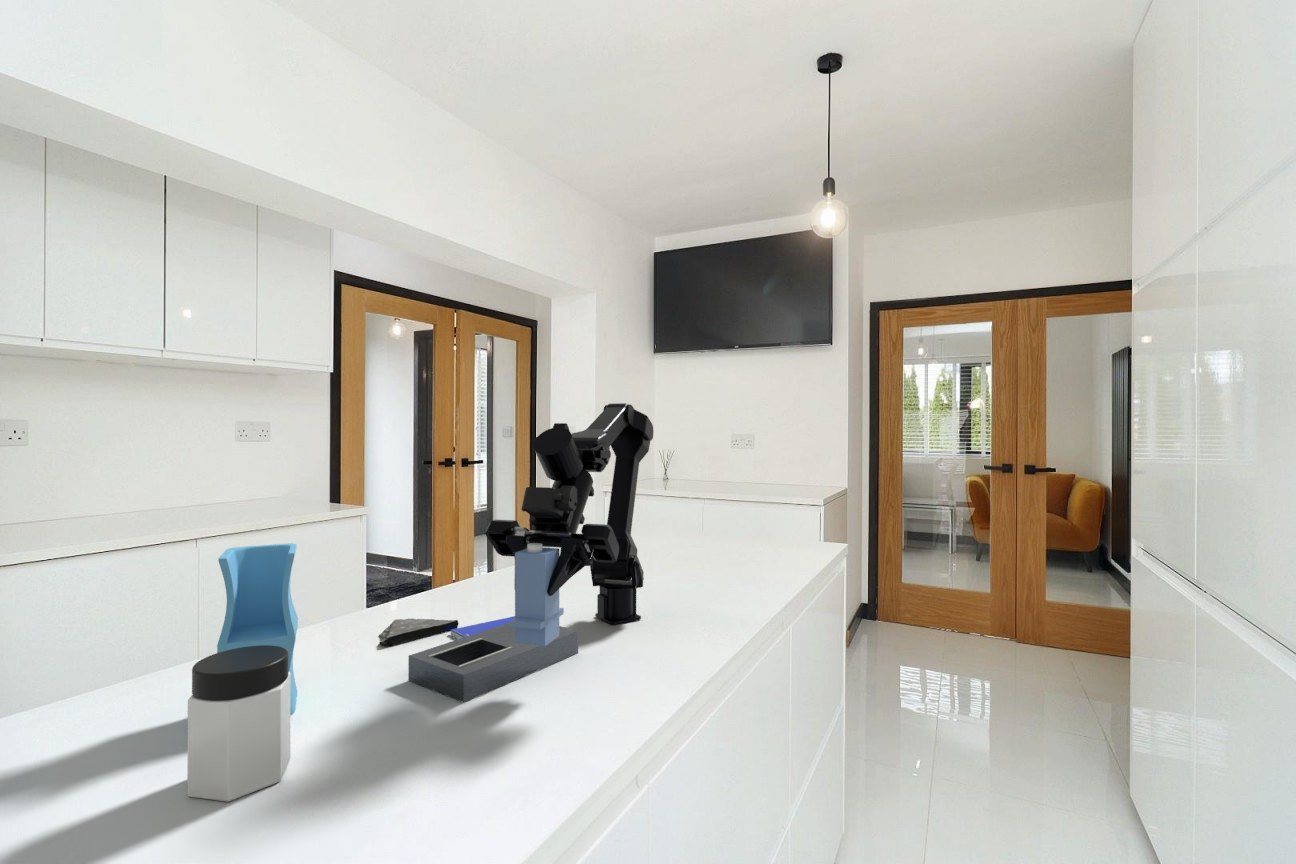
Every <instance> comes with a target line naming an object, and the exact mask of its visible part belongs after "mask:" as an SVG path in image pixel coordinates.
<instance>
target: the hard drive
mask: <svg viewBox="0 0 1296 864" xmlns="http://www.w3.org/2000/svg"><path fill="white" fill-rule="evenodd" d="M513 618H515V615H514V616H510V617H509V616H508V617H505V618H500V619H495V620H490V621H485V622H480V623H475V624H470V625H466V626H461V627H457V628H456V629H452V630H451V631H450V636H452V637H454V638H455V639H456V640H458V639H461V638H464V637H467V636H470V635H473V634H476V633H479V632H482V631H485V630H488V629H491V628H494V627H497V626H501V625H504V624H507V623H510V620H512V619H513Z"/></svg>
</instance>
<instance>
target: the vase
mask: <svg viewBox="0 0 1296 864" xmlns="http://www.w3.org/2000/svg"><path fill="white" fill-rule="evenodd" d="M297 547H298V545H297V543H294V542H293V543H292V542H291V543H277V544H276V543H275V544H274V543H273V544H262V545H261V544H260V545H259V544H258V545H246V546H235V547H230V548H227V549H225V550H224V551H223V552H222V553H221V555H220V556H219V557H218V559H217V561H218V564H219V568H220V570H221V571H220V572H222V574H221V575H222V578H223V581H224V586H225V594H226V606H225V607H226V608H225V613H224V614H225V615H224V621H223V625H222V628H221V632H220V635H219V638H218V641H217V645H216V647H217V650H216V651H217V652H216V653H219V652H223V651H227V650H231V649H236V648H241V647H248V646H260V645H271V646H279V647H282V648H285V649H286V650H287V651H288V672H290V673H291V703H290V716H291V715H293V714H295V711H296V709H297V697H298V689H297V688H298V687H297V685H296V683H297V682H296V681H295V680H296V678H295V673H294V672H295V671H294V649H295V645H296V639H297V638H296V637H297V632H298V627H299V626H298V625H299V624H298V623H299V622H298V620H299V618H298V615H297V612H296V609H295V606H294V603H293V599H292V593H291V580H292V578H291V577H292V571H293V565H294V561H295V560H294V559H295V554H296V551H297Z"/></svg>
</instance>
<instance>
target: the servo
mask: <svg viewBox="0 0 1296 864" xmlns="http://www.w3.org/2000/svg"><path fill="white" fill-rule="evenodd" d="M559 556H560V548H558V547H542V543H530V544H527V548H526V549H524V550H521V551H518V552H516V553H515V557H514V616H515V618H513V619H512V620H510V627H515V643H520V644H529V645H538V646H546V645H548V644H549V643H550V642H552V641H553V640H554V639H556V638H557V637H558V636H559V626H560V617H561V616H562V615H564V607H560V589H559V590H557V591H556V592H555V593H554V594H553V595H552V596H549V595H548V593H547V590H548V586H549V582H550V579H551V576H552V574H553V571H554V569H555V566H556V564H557V561H558V559H559Z"/></svg>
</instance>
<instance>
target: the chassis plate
mask: <svg viewBox="0 0 1296 864" xmlns="http://www.w3.org/2000/svg"><path fill="white" fill-rule="evenodd" d="M578 653H579V630H576V629H573V628H569V627H564V626H561V625H559V636H558V637H557V638H556V639H554V640H553V641H552V642H550V643H549V644H548V645H546V646H538V645H529V644H520V643H515V627H510V623H507V624H504V625H501V626H497V627H494V628H491V629H488V630H485V631H482V632H479V633H476V634H473V635H470V636H467V637H464V638H461V639H455V640H453V641H449V642H446V643H443V644H439V645H437V646H434V647H431V648H428V649H425V650H422V651H419V652H415V653H413V654H410V655H408V682H411V683H413V684H416V685H419V686H421V687H424V688H425V689H429V690H431V691H434V692H436V693H439V694H441V695H444V696H446V697H449V698H451V699H453V700H457V701H459V702H461V703H465V702H467V701H470V700H472V699H475V698H478V697H479V696H481V695H484V694H486V693H489V692H491V691H493V690H495V689H497V688H500V687H503V686H505V685H507V684H510V683H512V682H514V681H517V680H519V679H521V678H523V677H525V676H527V675H531V674H533V673H535V672H537V671H540V670H542V669H545V668H546V667H549V666H551V665H554V664H556V663H557V662H560V661H563V660H565V659H567V658H569V657H572V656H575V655H577V654H578Z"/></svg>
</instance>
